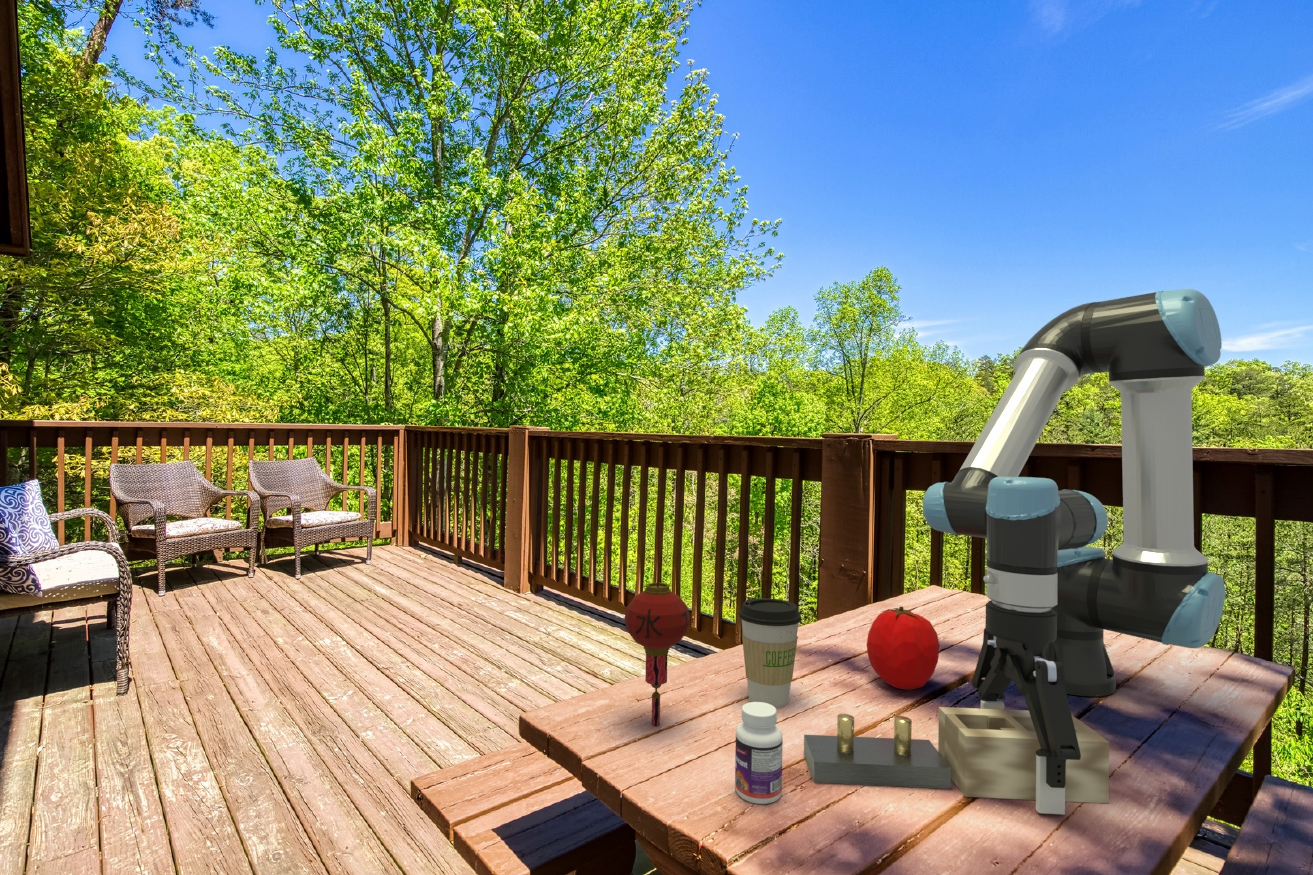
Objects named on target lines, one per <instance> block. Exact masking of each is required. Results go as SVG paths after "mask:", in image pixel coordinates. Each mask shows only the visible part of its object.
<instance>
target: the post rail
mask: <svg viewBox="0 0 1313 875" xmlns="http://www.w3.org/2000/svg"><path fill="white" fill-rule="evenodd" d="M893 719H894V721H893V723H894V724H893V726H894V728H893V738H892V737H891V738H890V737H873V736H872V737H867V736H865V737H864V736H855V717H854V716H853V715H851V714H848V713H839V714H837V720H836V721H837V724H836V725H837V729H836V734H837V735H826V734H824V735H819V734H803V756H804V758H805V761H806V764H807V767H808V769H809V772H810V774H811V775H810V776H811V777H812V781H813V783H814V784H833V785H835V784H836V785H855V786H877V787H898V788H917V789H918V788H921V789H938V790H939V789H941V790H943V789H944V790H951V789H952V779H951V767H950V766H949V765H948V763H947V762H946V761H945V759H944V758H943V757H942V756H941V754H940V753H939V752H938V749H937V748H936V746H935V745H934V744H933V743H932V742H931V740H930V739H914V738H912V725H913V723H912V720H913V719H911V718H909V717H907V716H904V715H896V716H894V718H893Z"/></svg>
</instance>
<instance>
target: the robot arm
mask: <svg viewBox="0 0 1313 875" xmlns="http://www.w3.org/2000/svg"><path fill="white" fill-rule="evenodd" d="M1221 349H1222V334H1221V328H1220V324H1219V320H1218V317H1217V315H1216V311H1215V309H1214V307H1213V306H1212V304H1211V302H1210V300H1209V299H1208V298H1207V296H1206V295H1205V294H1203V293H1202V292H1200V291H1199V290H1196V289H1192V288H1182V289H1172V290H1158V291H1156V292H1149V293H1142V294H1138V295H1133V296H1132V295H1131V296H1126V297H1120V298H1114V299H1108V300H1102V301H1092V302H1087V303H1083V304H1080V305H1077V306H1074V307H1072V308H1070V309H1067V310H1066V311H1064V312H1062V313H1060V314H1059V315H1057V316H1056V317H1054V318H1052V319H1051V320H1050V321H1048V322H1047V323H1046V324H1044V326H1042V327H1041V328H1040V329H1039V330H1038V331H1037V332H1036V333H1034V335H1033V336H1032V337H1030V339H1028V341H1027V342H1026V344H1024V346H1023V347H1022V349H1021V350H1020V352H1019V354H1018V355H1017V357H1016V359H1015V361H1014V363H1013V370H1014V375H1013V377H1012V379H1011V381H1010V382H1009V384H1008V386H1007V387H1006V389H1005V390H1004V393H1003V394H1002V396H1001V398H1000V399H999V401H998V403H997V405H996V406H995V407H994V410H993V412H992V413H991V415H990V417H989V418H988V419H987V422H986V423H985V425H984V427H983V428H982V431H981V432H980V434H979V435H978V437H977V438H976V441H975V443H974V444H973V446H972V447H971V450H970V452H969V453H968V455H967V457H966V458H965V460H964V462H963V463H962V465H961V467H960V469H959V471H957V473H956V475H955V476H954V479H953V480H952V481H951V482H949V481H944V482H936V483H934V484H932V485H931V486H929V487H928V488H927V490H926V492H925V494H924V497H923V500H922V513H923V517H924V519H925V521H926V522H927V524H928V526H929V527H930V528H931V529H933V530H935V531H937V532H942V533H946V534H950V535H955V536H967V537H974V538H982V539H986V575H984V576H983V582H984V583H985V584H986V585H985V586H986V587H985V588H986V592H985V596H986V597H987V598H988V599H989V600H988V601H987V602H986V603H985V625H984V626H985V627H984V628H983V639H982V645H981V649H980V651H979V652H980V653H979V656H978V660H977V662H976V666H975V669H974V673H973V676H972V680H971V685H972V688H973V689H975V690H977V695H978V698H979V699H980V709H1003V710H1005V703H1004V702H1003V701H1001V700H1004V701H1005V700H1006V696H1005V692H1006V690H1008V689H1007V688H1008V687H1009V685H1010V684H1011V682H1013V683H1014V684H1015V686H1016V688H1017V691H1018V692H1019V693H1020V694H1021V695H1023V697H1024V700H1025V703H1026V706H1027V710H1028V711H1029V713H1030V716H1031V719H1032V722H1033V725H1034V728H1035V731H1036V735H1037V738H1038V741H1039V744H1040V747H1041V749H1039V750H1037V751H1035V753H1036V800H1035V810H1036V812H1038V814H1047V815H1065V814H1066V813H1065V811H1066V801H1065V785H1066V780H1065V779H1066V776H1065V775H1066V760H1067V759H1068V760H1080V759H1081V753H1080V749H1079V745H1078V740H1077V736H1076V732H1075V728H1074V724H1073V719H1072V716H1073V715H1072V712H1071V708H1070V703H1069V698H1068V695H1071V696H1072V695H1073V696H1079V697H1081V696H1082V697H1105V696H1109V695H1112V694H1115V692H1116V691H1117V688H1116V687H1117V678H1116V673H1115V671H1114V668H1113V665H1112V662H1111V659H1110V656H1109V652H1108V651H1107V648H1106V645H1105V642H1104V632H1105V631H1110V632H1114V633H1118V634H1122V635H1127V636H1130V637H1131V636H1132V637H1135V638H1139V639H1145V640H1148V641H1152V642H1156V643H1157V642H1158V643H1161V645H1166V646H1169V645H1171V646H1176V647H1181V648H1186V649H1187V648H1188V649H1199V648H1202V647H1204V646H1206V645H1207V644H1209V642H1210V640H1212V638H1213V637H1214V635H1215V633H1216V631H1217V629H1218V627H1219V625H1220V621H1221V618H1222V615H1223V611H1224V606H1225V600H1226V599H1225V598H1226V586H1225V581H1224V578H1223V577H1222V576H1221V575H1219V574H1216V573H1215V572H1209V570H1208V567H1209V566H1208V564H1209V563H1208V558H1207V557H1206V556H1205V555H1204V554H1203V553H1201V551H1199V550H1197V549H1196V547H1195V539H1194V538H1195V535H1194V533H1195V528H1194V527H1195V525H1194V524H1195V523H1194V521H1195V520H1194V519H1195V518H1194V477H1193V476H1194V470H1193V467H1194V466H1193V463H1194V462H1193V408H1192V406H1193V405H1192V403H1193V402H1192V401H1193V400H1192V394H1193V393H1192V391H1193V390H1194V388H1195V387H1196V386H1197V385H1199V383H1200V382H1202V381H1204V379H1205V368H1206V367H1211V366H1213V365H1215V364H1217V362H1218V361H1219V360H1220V358H1221V352H1222V351H1221ZM1096 373H1097V374H1100V373H1101V374H1103V373H1104V374H1105V373H1108V384H1109V385H1110V386H1112V387H1113V388H1114V389H1115V390H1116V391H1118V392H1119V393H1120V394H1119V395H1120V408H1121V410H1120V411H1121V413H1120V414H1121V415H1120V416H1121V417H1120V418H1121V419H1120V420H1121V453H1122V454H1121V456H1122V458H1121V461H1122V462H1121V463H1122V464H1121V465H1122V466H1121V467H1122V498H1123V499H1122V507H1123V508H1122V509H1123V510H1122V512H1123V516H1122V517H1123V518H1122V519H1123V541H1122V542H1123V543H1121V544H1120V545H1119V546H1118V547H1116V548H1115V549H1113V550H1112V558H1111V559H1110V558H1106V557H1107V554H1106V552H1105V550H1104V549H1103V548H1101V547H1093V546H1088V545H1092V544H1094V543H1095V542H1098V540H1100V539H1101V538H1102V537H1103V535H1104V534H1105V532H1106V530H1107V528H1108V523H1109V519H1108V514H1107V513H1108V512H1107V510H1106V509H1105V506H1104V505H1103V503H1102V502H1101V501H1100V500H1099V499H1098V498H1096V497H1095V496H1094V495H1092V494H1090V493H1087V492H1084V491H1081V490H1077V489H1061V490H1059V486H1058V485H1057V482H1056V481H1055V480H1053V479H1051V478H1046V477H1034V476H1033V477H1032V476H1029V477H1028V476H1019V475H1020V474H1021V472H1022V470H1023V468H1024V466H1025V465H1026V462H1027V461H1028V459H1029V456H1030V455H1031V453H1032V451H1033V449H1034V448H1035V446H1036V443H1037V442H1038V439H1040V436H1041V434H1042V433H1043V431H1044V428H1045V427H1046V425H1047V423H1048V422H1049V419H1050V417H1051V416H1052V414H1053V412H1054V410H1055V408H1056V407H1057V404H1058V402H1059V400H1060V399H1061V397H1062V395H1063V393H1064V392H1066V391H1068V390H1070V389H1072V388H1073V387H1074V386H1075V385H1076V384H1077V382H1078V380H1079V378H1081V377H1082V376H1085V375H1090V374H1096Z"/></svg>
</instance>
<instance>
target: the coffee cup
mask: <svg viewBox="0 0 1313 875" xmlns="http://www.w3.org/2000/svg"><path fill="white" fill-rule="evenodd" d="M738 618H739V619H740V620H741V629H742V631H741V638H742V639H741V640H742V649H743V660H744V668H745V677H746V679H747V680H746V682H747V690H748V691H747V692H748V693H747V694H748V700H749V702H764V703H768V704H770V705H772V706H774V707H775V708H776V709H778V708H783V707H786V706H787V705H788V704H789V700H790V695H791V694H790V692H791V684H792V681H793V676H794V668H795V663H796V662H795V661H796V655H797V646H798V629H799V628H798V627H799V624H800V623H801V622H802V615H801V613H800V612H799V608H798V605H797V604H796V603H794V602H791V601H789V600H784V599H781V598H780V599H779V598H768V597H767V598H766V597H764V598H763V597H762V598H761V597H759V598H758V597H757V598H750V599H747V600H745V601H743V603H742V607H741V608H740V610H739V611H738Z"/></svg>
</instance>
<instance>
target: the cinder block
mask: <svg viewBox="0 0 1313 875" xmlns="http://www.w3.org/2000/svg"><path fill="white" fill-rule="evenodd" d="M1072 719H1073V724H1074V728H1075V732H1076V736H1077V740H1078V745H1079V749H1080V753H1081V759H1080V760H1068V759H1067V760H1066V775H1065V776H1066V779H1065V780H1066V785H1065V802H1070V803H1071V802H1073V803H1088V804H1089V803H1091V804H1092V803H1093V804H1109V796H1110V794H1109V793H1110V792H1109V791H1110V790H1109V789H1110V787H1109V786H1110V741H1108V739H1105V737H1103V736H1102V735H1101V734H1099V733H1098V732H1096V731H1095V730H1093V729H1092V728H1090V727H1089V726H1088V725H1087V724H1085V723H1083V722H1082V721H1081V720H1080V719H1078V717H1077V718H1076V717H1075V716H1074V715H1072ZM937 738H938V740H937V741H938V744H937V748H938V749H937V751H938V752H939V753H940V754H941V756H942V757H943V758H944V759H945V761H946V762H947V763H948V765H949V766H950V767H951V781H952V782H953V783H954V784H955V785H956V787H957V788H958V789H959V791H960V793H962V795H963V797H967V798H982V799H983V798H987V799H1008V800H1027V801H1036V753H1035V751H1037V750H1039V749H1041V747H1040V744H1039V741H1038V738H1037V735H1036V731H1035V728H1034V725H1033V722H1032V719H1031V716H1030V713H1029V710H1028V709H1021V710H1020V709H1004V710H1003V709H981V708H975V707H974V708H973V707H972V708H971V707H950V706H949V707H948V706H947V707H946V706H939V707H938V737H937Z"/></svg>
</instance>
